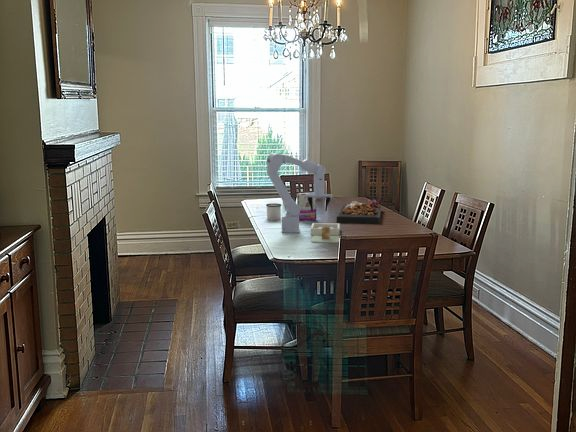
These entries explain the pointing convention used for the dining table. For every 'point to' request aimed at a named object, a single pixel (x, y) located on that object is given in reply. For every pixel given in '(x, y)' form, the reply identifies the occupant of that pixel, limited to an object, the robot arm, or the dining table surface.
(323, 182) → the robot arm
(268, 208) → the mug
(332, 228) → the white square tray
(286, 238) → the dining table surface
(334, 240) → the pad
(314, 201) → the candy bar box
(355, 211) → the food platter
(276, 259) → the dining table surface
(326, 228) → the wood block
